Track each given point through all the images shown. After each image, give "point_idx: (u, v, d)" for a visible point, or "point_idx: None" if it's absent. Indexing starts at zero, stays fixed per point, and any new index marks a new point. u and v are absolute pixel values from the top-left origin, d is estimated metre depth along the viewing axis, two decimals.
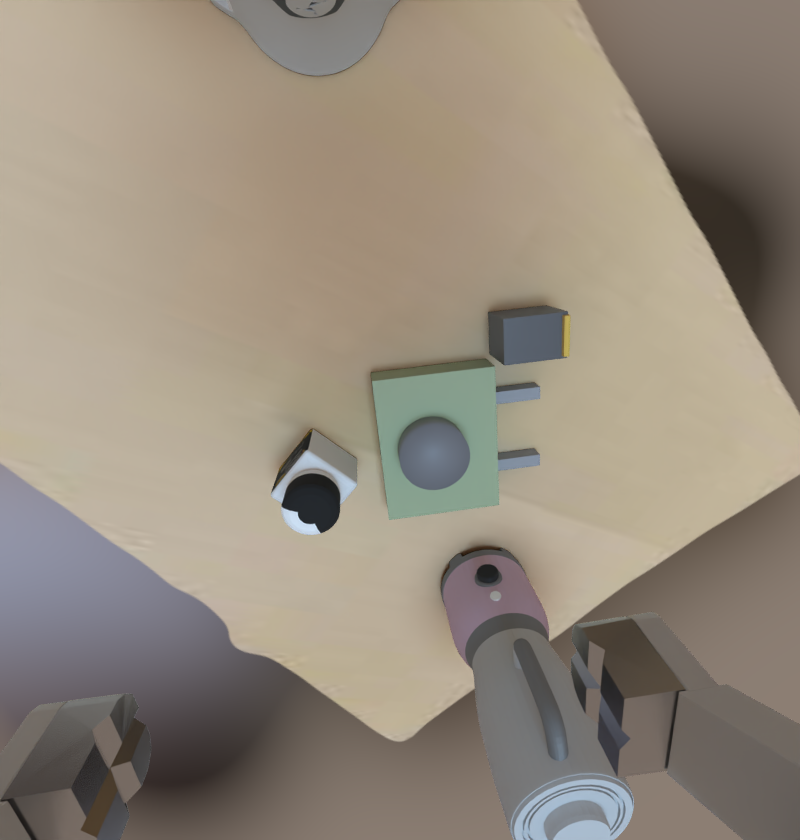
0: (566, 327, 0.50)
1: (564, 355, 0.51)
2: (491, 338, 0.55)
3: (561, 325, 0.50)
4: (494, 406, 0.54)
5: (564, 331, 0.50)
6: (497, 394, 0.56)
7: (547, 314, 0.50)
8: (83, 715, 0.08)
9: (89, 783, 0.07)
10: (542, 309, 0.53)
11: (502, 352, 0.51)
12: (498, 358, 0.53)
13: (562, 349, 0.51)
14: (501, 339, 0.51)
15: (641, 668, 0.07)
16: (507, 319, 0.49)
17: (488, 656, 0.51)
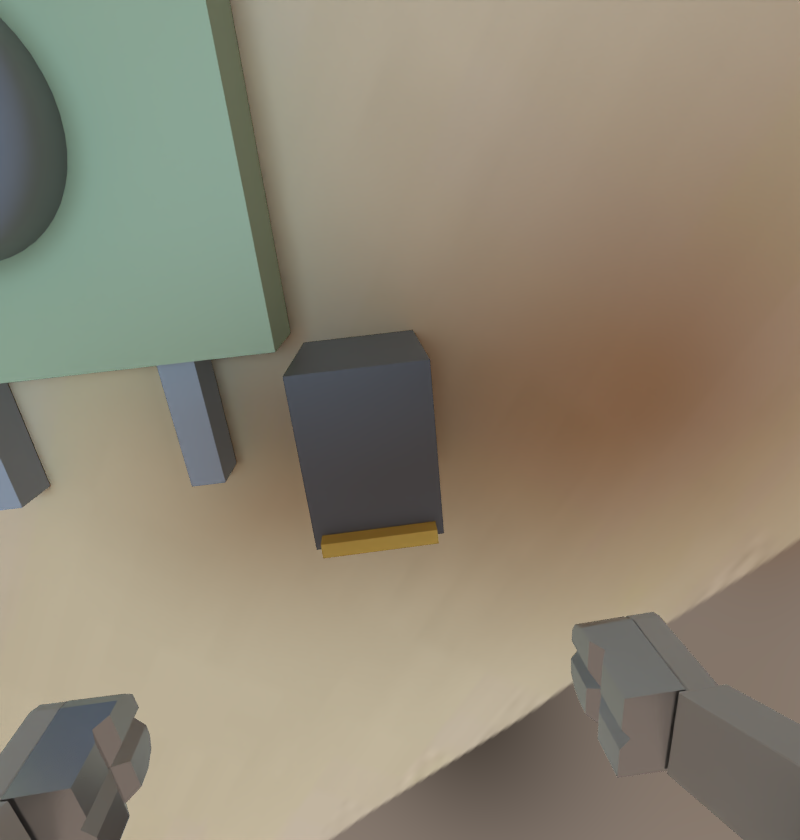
0: (405, 538, 0.18)
1: (324, 545, 0.18)
2: (348, 341, 0.20)
3: (407, 523, 0.18)
4: (142, 361, 0.17)
5: (393, 535, 0.18)
6: (187, 371, 0.19)
7: (437, 483, 0.18)
8: (83, 715, 0.08)
9: (89, 783, 0.07)
10: None
11: (324, 367, 0.16)
12: (299, 360, 0.18)
13: (341, 536, 0.18)
14: (361, 362, 0.17)
15: (641, 668, 0.07)
16: (427, 372, 0.16)
17: None
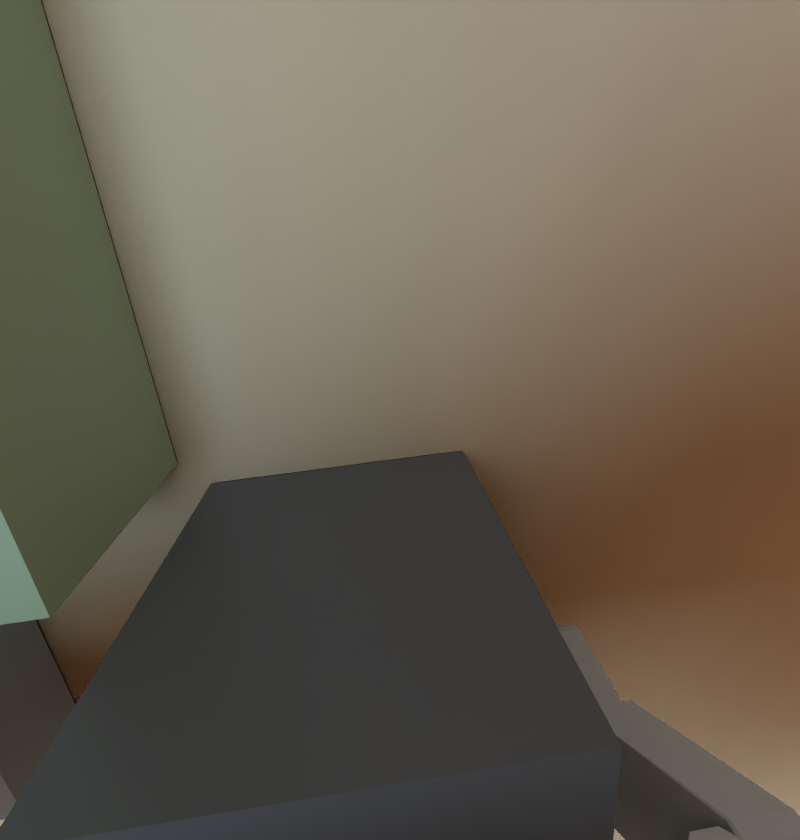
0: None
1: None
2: (312, 498, 0.08)
3: None
4: None
5: None
6: None
7: None
8: None
9: None
10: None
11: (190, 746, 0.04)
12: (143, 629, 0.06)
13: None
14: (337, 705, 0.04)
15: None
16: (604, 780, 0.04)
17: None
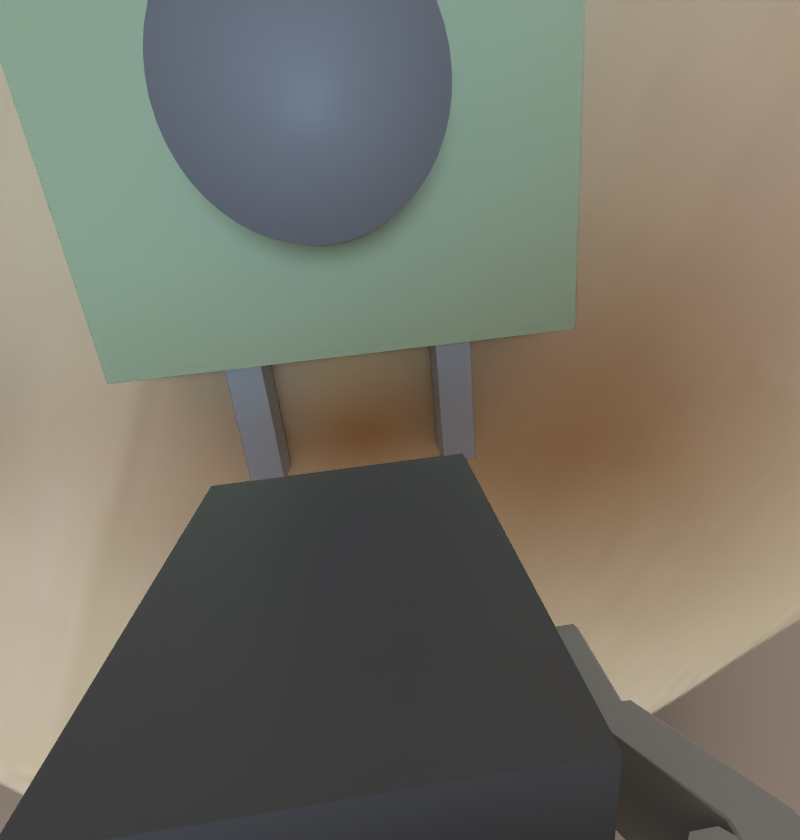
0: None
1: None
2: (313, 501, 0.08)
3: None
4: (454, 337, 0.18)
5: None
6: (462, 350, 0.20)
7: None
8: None
9: None
10: None
11: (190, 753, 0.04)
12: (143, 634, 0.06)
13: None
14: (338, 711, 0.04)
15: None
16: (606, 787, 0.04)
17: None
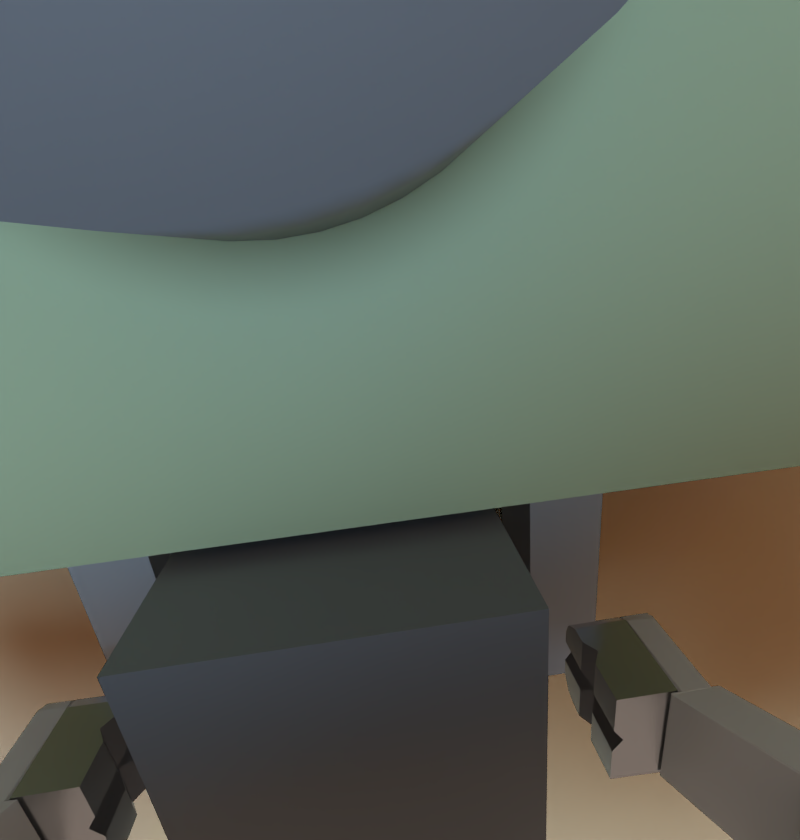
0: None
1: None
2: None
3: None
4: (608, 480, 0.07)
5: None
6: None
7: None
8: (91, 714, 0.08)
9: (97, 782, 0.07)
10: None
11: (236, 618, 0.06)
12: (189, 551, 0.07)
13: None
14: (344, 592, 0.06)
15: (634, 669, 0.07)
16: (539, 638, 0.05)
17: None
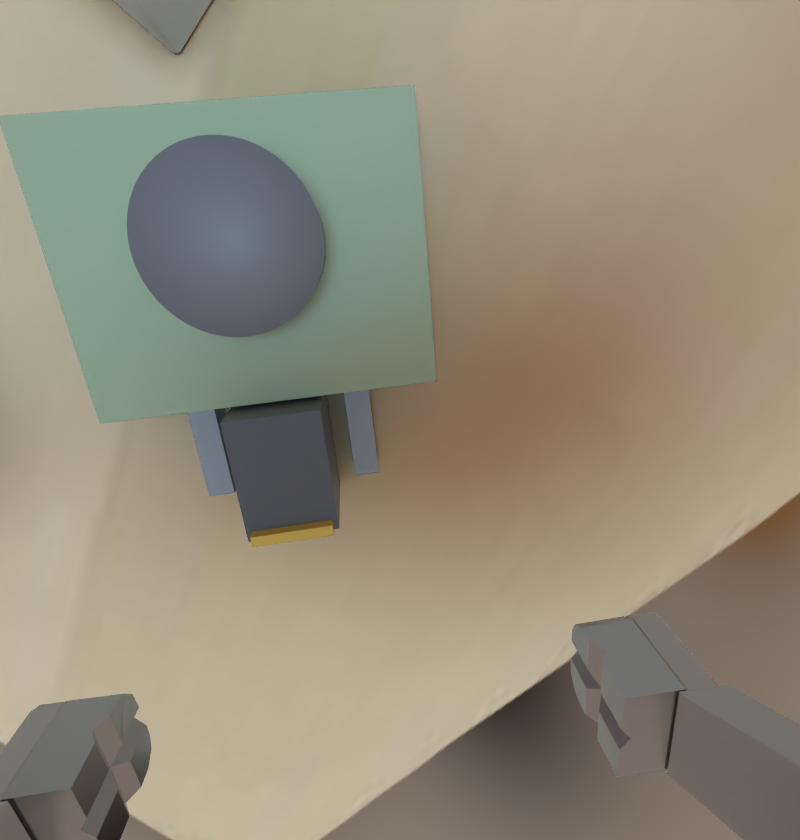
0: (309, 532, 0.25)
1: (253, 538, 0.25)
2: None
3: (312, 521, 0.26)
4: (350, 388, 0.26)
5: (301, 529, 0.25)
6: (363, 394, 0.28)
7: (332, 492, 0.26)
8: (83, 715, 0.08)
9: (89, 783, 0.07)
10: (336, 478, 0.29)
11: (249, 415, 0.24)
12: (234, 409, 0.25)
13: (265, 531, 0.25)
14: (275, 411, 0.24)
15: (641, 668, 0.07)
16: (319, 418, 0.24)
17: None
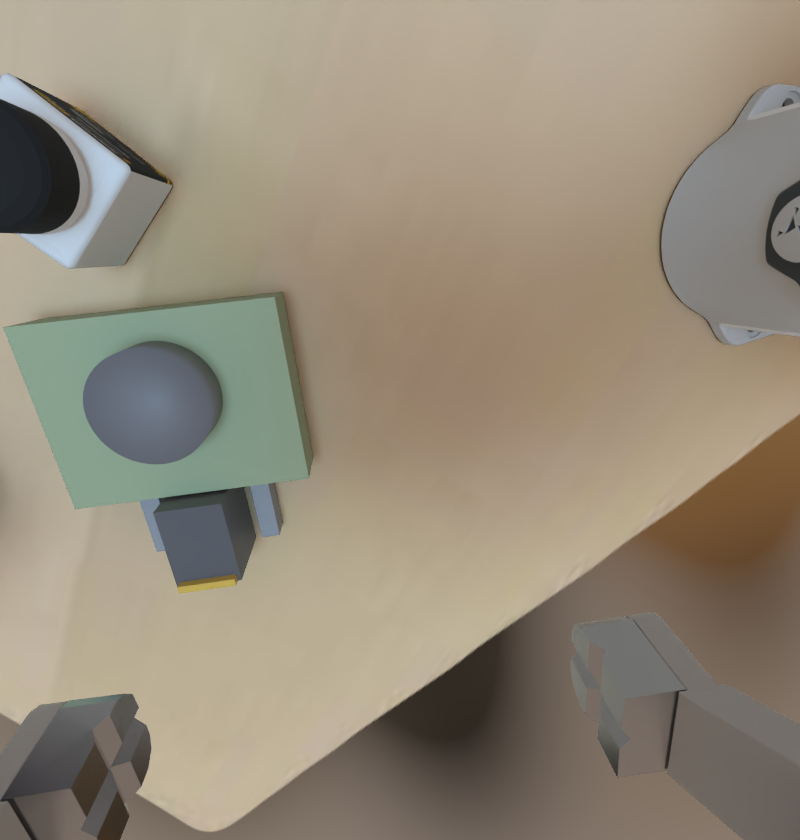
0: (218, 583, 0.37)
1: (179, 587, 0.36)
2: None
3: (221, 575, 0.37)
4: (247, 484, 0.37)
5: (213, 581, 0.37)
6: None
7: (234, 556, 0.37)
8: (83, 715, 0.08)
9: (89, 783, 0.07)
10: (246, 540, 0.40)
11: (174, 506, 0.35)
12: (167, 497, 0.37)
13: (188, 582, 0.37)
14: (192, 502, 0.36)
15: (641, 668, 0.07)
16: (221, 508, 0.35)
17: None
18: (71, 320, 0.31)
